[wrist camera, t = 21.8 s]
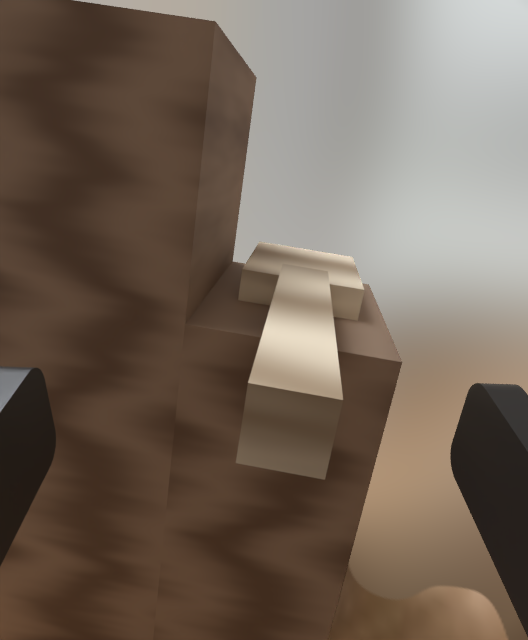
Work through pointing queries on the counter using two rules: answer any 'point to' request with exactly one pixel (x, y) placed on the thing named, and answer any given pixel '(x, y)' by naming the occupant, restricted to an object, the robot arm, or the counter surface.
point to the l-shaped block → (296, 357)
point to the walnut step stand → (155, 345)
